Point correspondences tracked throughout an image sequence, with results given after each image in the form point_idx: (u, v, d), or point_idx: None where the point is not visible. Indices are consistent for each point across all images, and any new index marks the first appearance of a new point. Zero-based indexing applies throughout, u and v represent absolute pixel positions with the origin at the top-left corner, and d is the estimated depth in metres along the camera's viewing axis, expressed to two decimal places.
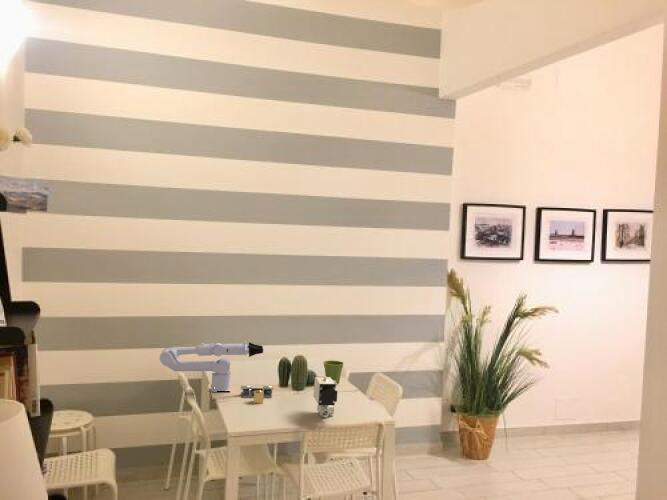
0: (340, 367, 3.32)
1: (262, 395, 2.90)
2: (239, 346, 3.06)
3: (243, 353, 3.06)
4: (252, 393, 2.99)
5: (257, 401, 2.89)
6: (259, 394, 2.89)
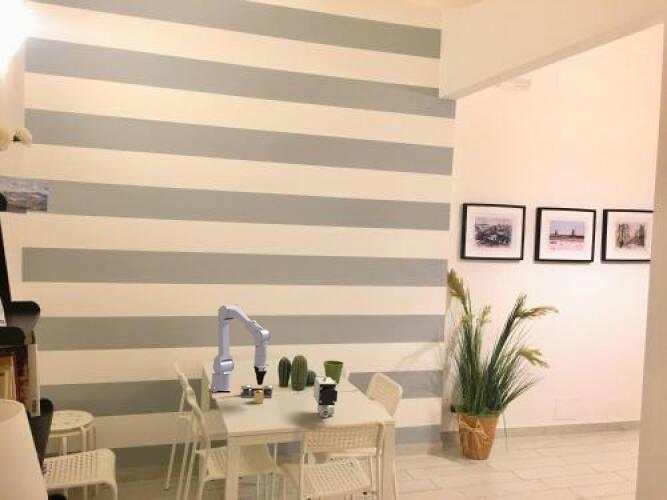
0: (340, 367, 3.32)
1: (262, 395, 2.90)
2: (264, 359, 2.89)
3: (257, 363, 2.88)
4: (252, 393, 2.99)
5: (257, 401, 2.89)
6: (259, 394, 2.89)
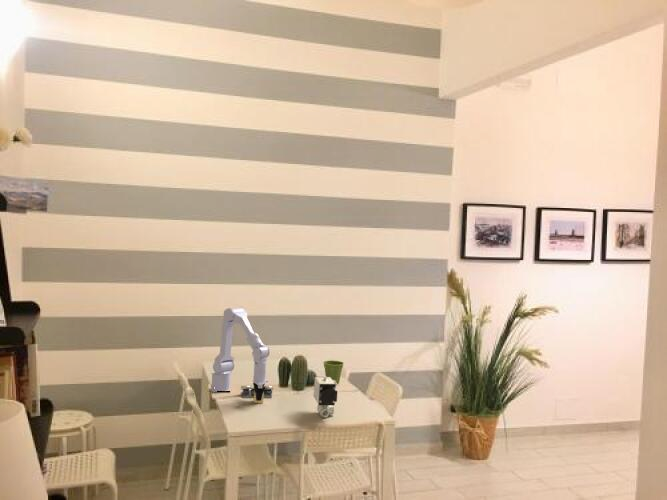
0: (340, 367, 3.32)
1: (262, 395, 2.90)
2: (263, 375, 2.89)
3: (256, 380, 2.88)
4: (252, 393, 2.99)
5: (257, 401, 2.89)
6: None
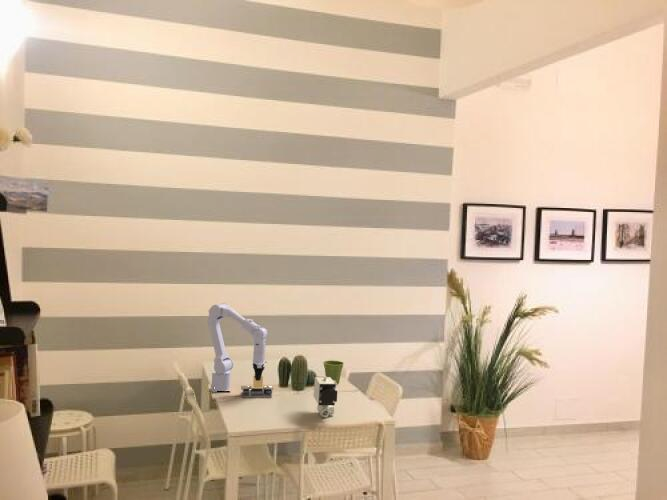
0: (340, 367, 3.32)
1: (261, 380, 3.00)
2: (263, 356, 2.99)
3: (255, 360, 2.99)
4: (252, 393, 2.99)
5: (256, 385, 3.00)
6: None
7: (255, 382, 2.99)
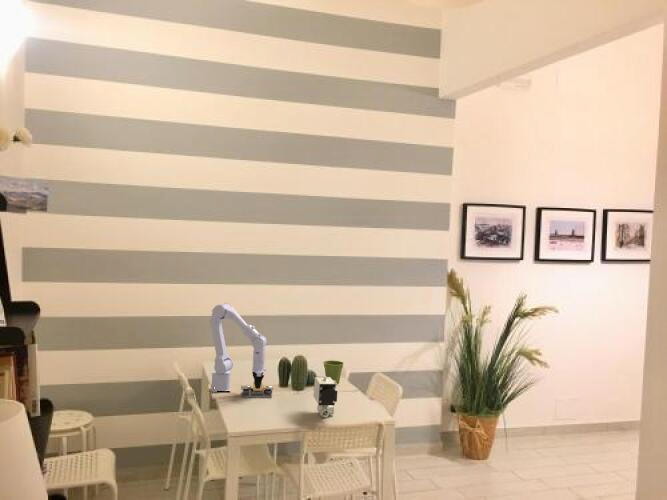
0: (340, 367, 3.32)
1: (261, 386, 3.01)
2: (262, 364, 3.01)
3: (255, 368, 3.00)
4: (252, 393, 2.99)
5: None
6: None
7: (255, 389, 3.01)
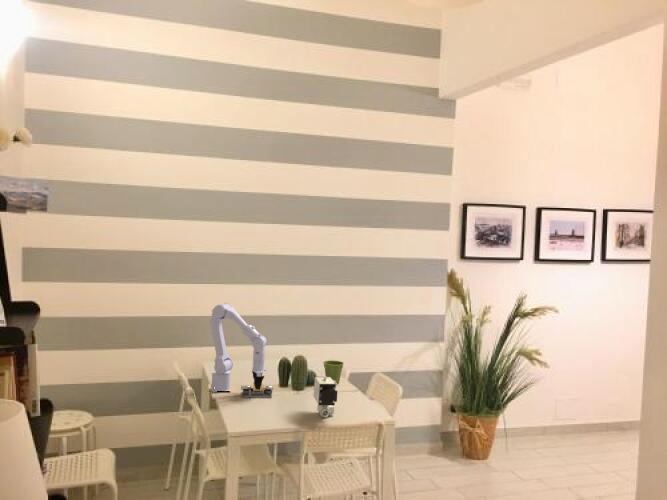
0: (340, 367, 3.32)
1: (261, 386, 3.01)
2: (262, 364, 3.01)
3: (255, 368, 3.00)
4: (252, 393, 2.99)
5: None
6: None
7: (255, 389, 3.01)
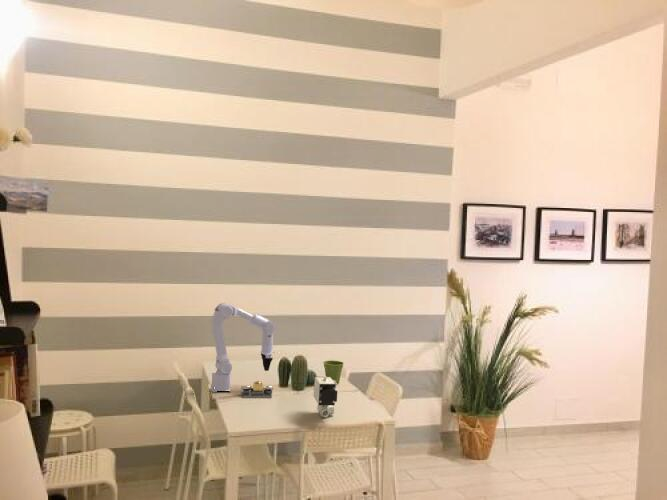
0: (340, 367, 3.32)
1: (261, 386, 3.01)
2: (271, 347, 3.15)
3: (264, 351, 3.15)
4: (252, 393, 2.99)
5: None
6: (258, 385, 3.01)
7: (255, 389, 3.01)
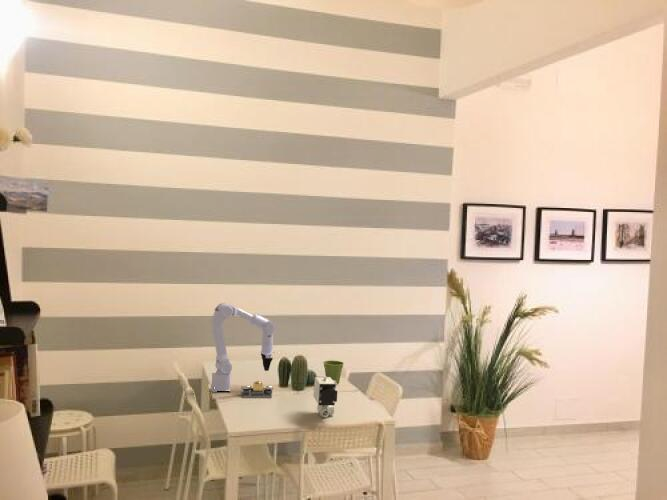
0: (340, 367, 3.32)
1: (261, 386, 3.01)
2: (271, 347, 3.15)
3: (264, 351, 3.15)
4: (252, 393, 2.99)
5: None
6: (258, 385, 3.01)
7: (255, 389, 3.01)
